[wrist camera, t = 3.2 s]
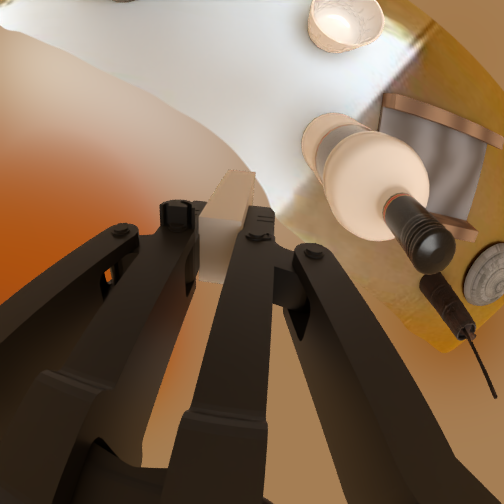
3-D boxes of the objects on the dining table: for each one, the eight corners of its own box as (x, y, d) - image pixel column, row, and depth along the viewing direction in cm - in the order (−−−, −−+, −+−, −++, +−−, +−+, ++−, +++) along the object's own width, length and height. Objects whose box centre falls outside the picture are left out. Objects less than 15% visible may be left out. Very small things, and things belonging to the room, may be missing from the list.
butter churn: (460, 283, 47) (525, 393, 23) (423, 310, 51) (473, 428, 27) (446, 252, 44) (526, 371, 20) (406, 283, 48) (464, 414, 24)
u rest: (361, 209, 42) (370, 223, 38) (383, 93, 33) (396, 93, 29) (460, 228, 42) (474, 242, 37) (486, 131, 33) (504, 137, 28)
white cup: (368, 24, 28) (393, 6, 20) (347, 67, 32) (369, 59, 23) (315, -2, 27) (326, -28, 19) (294, 41, 31) (299, 25, 22)
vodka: (288, 131, 38) (314, 216, 12) (347, 101, 35) (490, 131, 9) (320, 186, 41) (378, 349, 15) (375, 159, 38) (507, 281, 12)
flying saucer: (517, 234, 41) (532, 247, 36) (504, 292, 48) (515, 306, 43) (466, 247, 44) (480, 262, 39) (455, 307, 50) (465, 324, 46)
